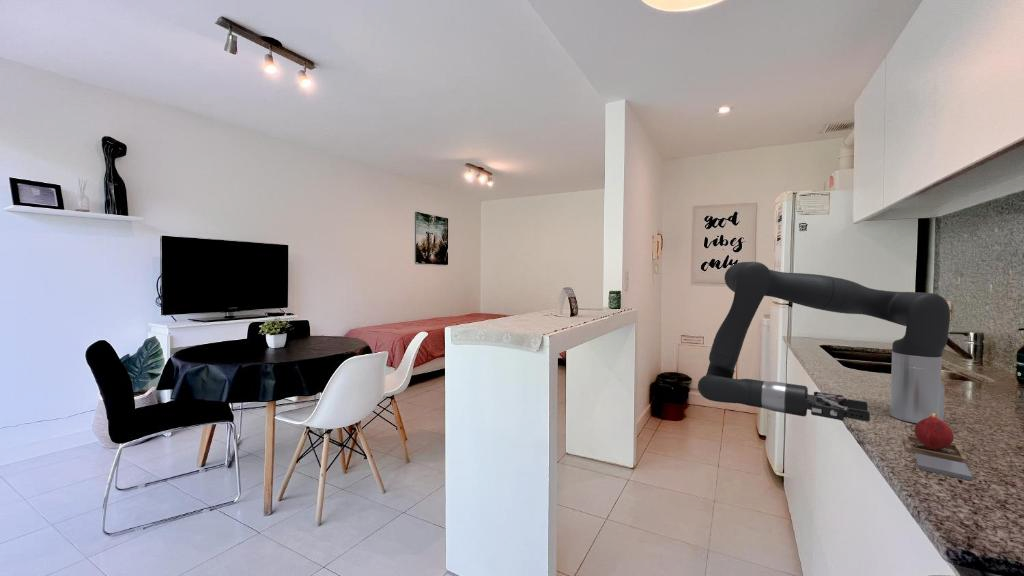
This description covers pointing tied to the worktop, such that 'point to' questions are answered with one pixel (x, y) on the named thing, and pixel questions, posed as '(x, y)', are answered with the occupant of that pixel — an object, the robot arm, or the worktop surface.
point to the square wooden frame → (957, 448)
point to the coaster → (943, 466)
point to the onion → (933, 433)
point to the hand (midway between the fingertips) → (868, 411)
